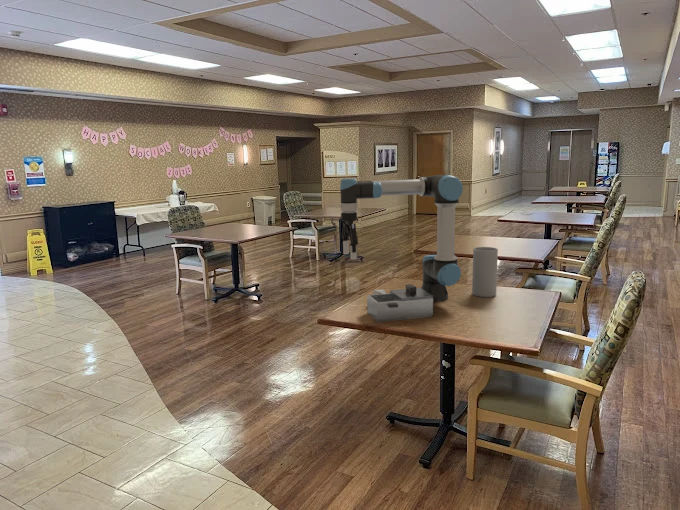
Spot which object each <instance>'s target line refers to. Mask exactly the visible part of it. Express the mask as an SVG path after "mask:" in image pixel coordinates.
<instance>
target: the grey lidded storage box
mask: <svg viewBox="0 0 680 510" xmlns="http://www.w3.org/2000/svg"><path fill="white" fill-rule="evenodd" d="M366 301H367V303H366V307H367V309H366V310H367V314H368V315H369V317H371V319H373V320H374V321H375V322H376V323H384V322H385V323H386V322H395V321H403V320H404V321H405V320H414V319H423V318H424V319H425V318H432V317H434V301H433V298H424V299H414V300H403V301H401V300H400V299H398V298H397V297H396V296H394V295H393V294H392V293H390V292H389V293H387V292H386V294H375V295H372V294H367V296H366Z"/></svg>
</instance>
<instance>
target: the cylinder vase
mask: <svg viewBox="0 0 680 510" xmlns="http://www.w3.org/2000/svg"><path fill="white" fill-rule="evenodd" d="M472 250H473V252H472V281H471V285H472V287H471V294H472V295H473V296H475V297H480V298H493V297H495V296H496V295H497V284H498V281H497V280H498V250H499V248H496V247H493V246H492V247H490V246H478V247H474V248H472Z"/></svg>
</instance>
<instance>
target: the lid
mask: <svg viewBox="0 0 680 510" xmlns="http://www.w3.org/2000/svg"><path fill="white" fill-rule="evenodd" d="M389 293H392V294H393V295H394V296H396V297H397V298H398V299H400V300H401V301H403V300H414V299H424V298H433V295H431V294H429V293H428V292H426V291H424V290H423V289H421V287H417V286H416V285H414V284H412V283H411V284H409V283H408V284H405V288H401V289H400V288H399V289H391V290H389Z"/></svg>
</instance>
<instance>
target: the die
mask: <svg viewBox="0 0 680 510" xmlns="http://www.w3.org/2000/svg"><path fill="white" fill-rule="evenodd" d="M386 293H387V292H386V291H385V289H373V291H372V293H371V295H375V294H386Z"/></svg>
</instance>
